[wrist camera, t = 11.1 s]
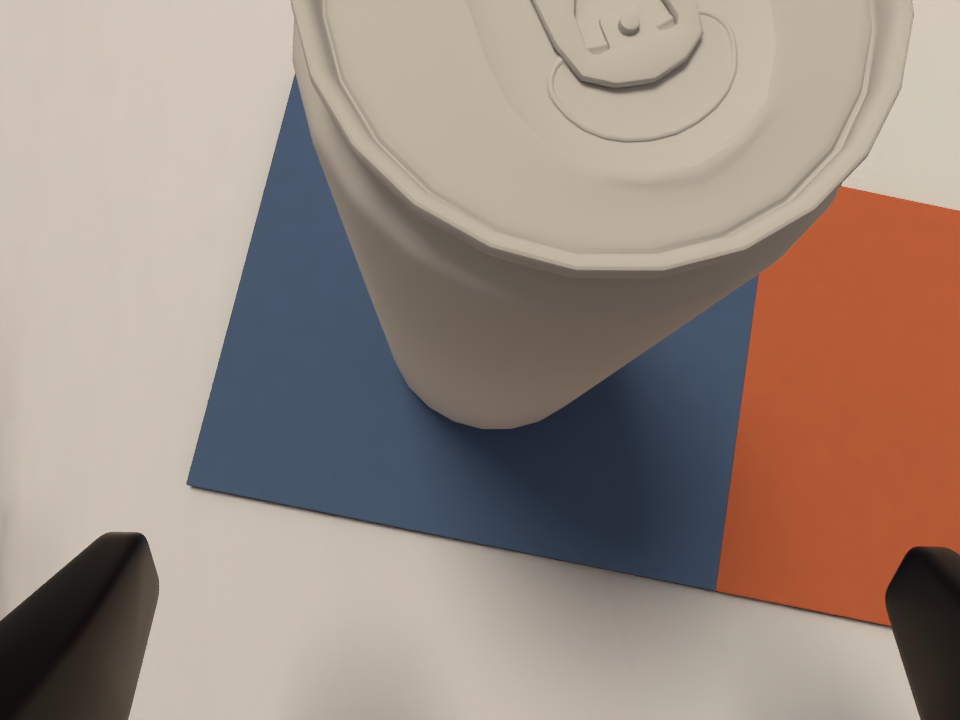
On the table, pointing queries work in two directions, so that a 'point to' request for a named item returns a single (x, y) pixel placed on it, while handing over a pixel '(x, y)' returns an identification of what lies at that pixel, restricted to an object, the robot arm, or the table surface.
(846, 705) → the table surface
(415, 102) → the beverage can
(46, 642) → the robot arm
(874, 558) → the sorting mat
